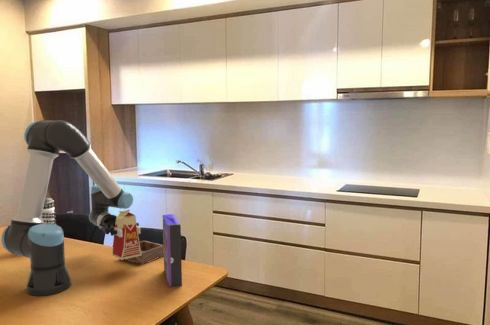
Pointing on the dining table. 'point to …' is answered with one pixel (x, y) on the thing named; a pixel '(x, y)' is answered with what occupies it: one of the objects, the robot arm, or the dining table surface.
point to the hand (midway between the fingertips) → (130, 232)
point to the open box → (148, 252)
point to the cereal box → (172, 250)
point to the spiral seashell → (49, 211)
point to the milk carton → (126, 237)
